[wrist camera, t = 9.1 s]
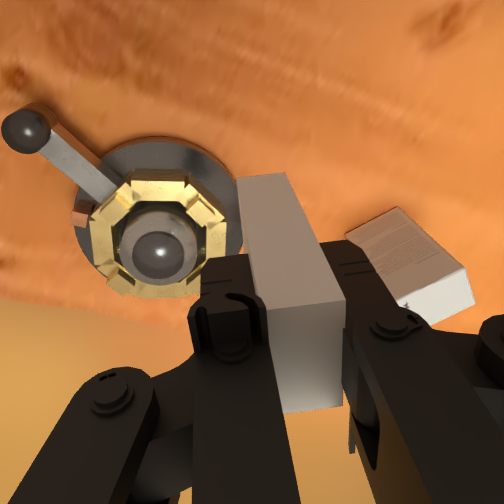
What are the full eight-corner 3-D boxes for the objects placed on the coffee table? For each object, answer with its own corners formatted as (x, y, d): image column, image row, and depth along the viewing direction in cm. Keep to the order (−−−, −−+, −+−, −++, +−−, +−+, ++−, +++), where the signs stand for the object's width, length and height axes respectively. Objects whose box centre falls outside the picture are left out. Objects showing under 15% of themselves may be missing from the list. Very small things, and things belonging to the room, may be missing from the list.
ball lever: (-21, 156, 34) (-46, 174, 30) (70, 54, 31) (54, 60, 27) (164, 299, 42) (162, 326, 38) (247, 228, 40) (253, 250, 36)
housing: (97, 111, 35) (75, 134, 29) (267, 167, 39) (282, 199, 33) (65, 264, 41) (41, 312, 35) (214, 299, 46) (218, 348, 39)
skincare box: (358, 264, 46) (407, 338, 35) (343, 233, 44) (391, 302, 33) (411, 237, 45) (478, 305, 35) (399, 204, 43) (465, 266, 32)
